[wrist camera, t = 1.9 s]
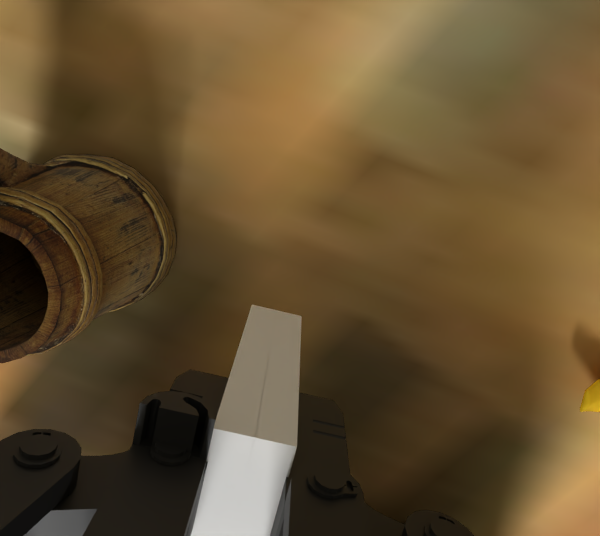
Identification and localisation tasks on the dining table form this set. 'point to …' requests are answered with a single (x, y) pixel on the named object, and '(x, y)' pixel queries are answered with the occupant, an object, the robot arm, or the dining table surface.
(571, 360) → the dining table surface
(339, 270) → the dining table surface
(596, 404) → the banana peel
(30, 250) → the wooden mug
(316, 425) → the robot arm
